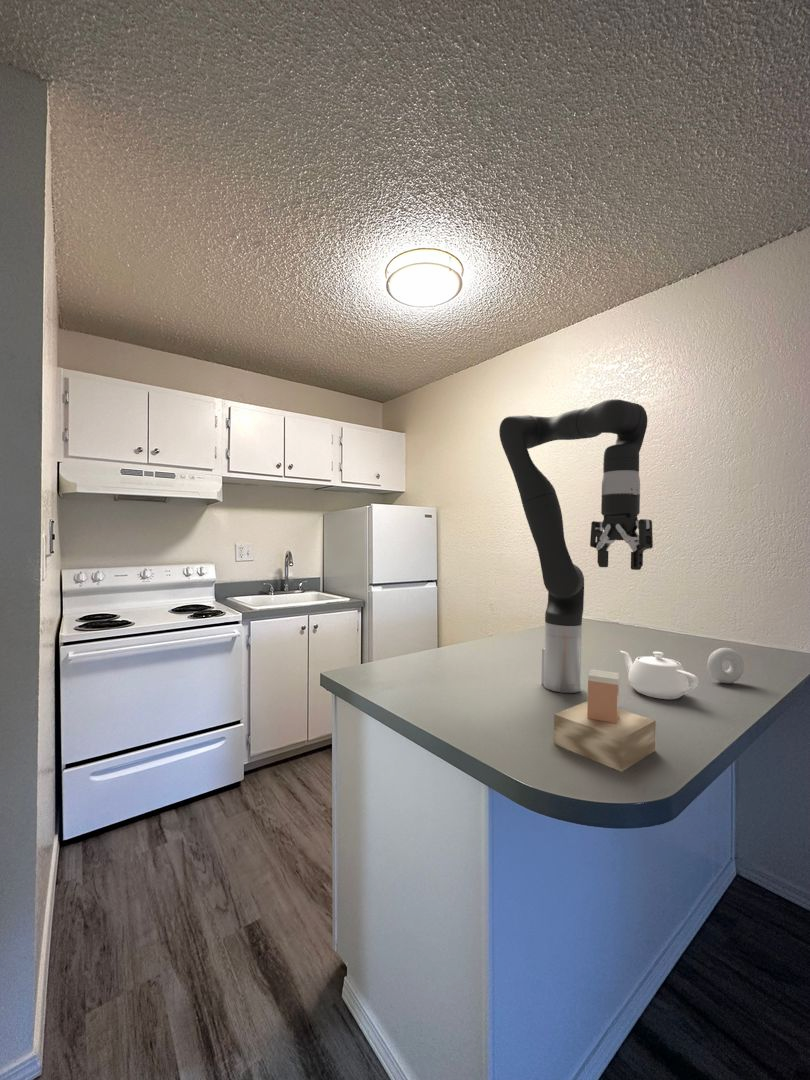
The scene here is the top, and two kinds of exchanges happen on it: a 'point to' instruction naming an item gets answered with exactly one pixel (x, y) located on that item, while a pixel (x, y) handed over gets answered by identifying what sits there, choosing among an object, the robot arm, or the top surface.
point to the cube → (603, 695)
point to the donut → (734, 669)
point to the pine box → (605, 736)
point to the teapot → (658, 676)
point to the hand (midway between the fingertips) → (619, 568)
